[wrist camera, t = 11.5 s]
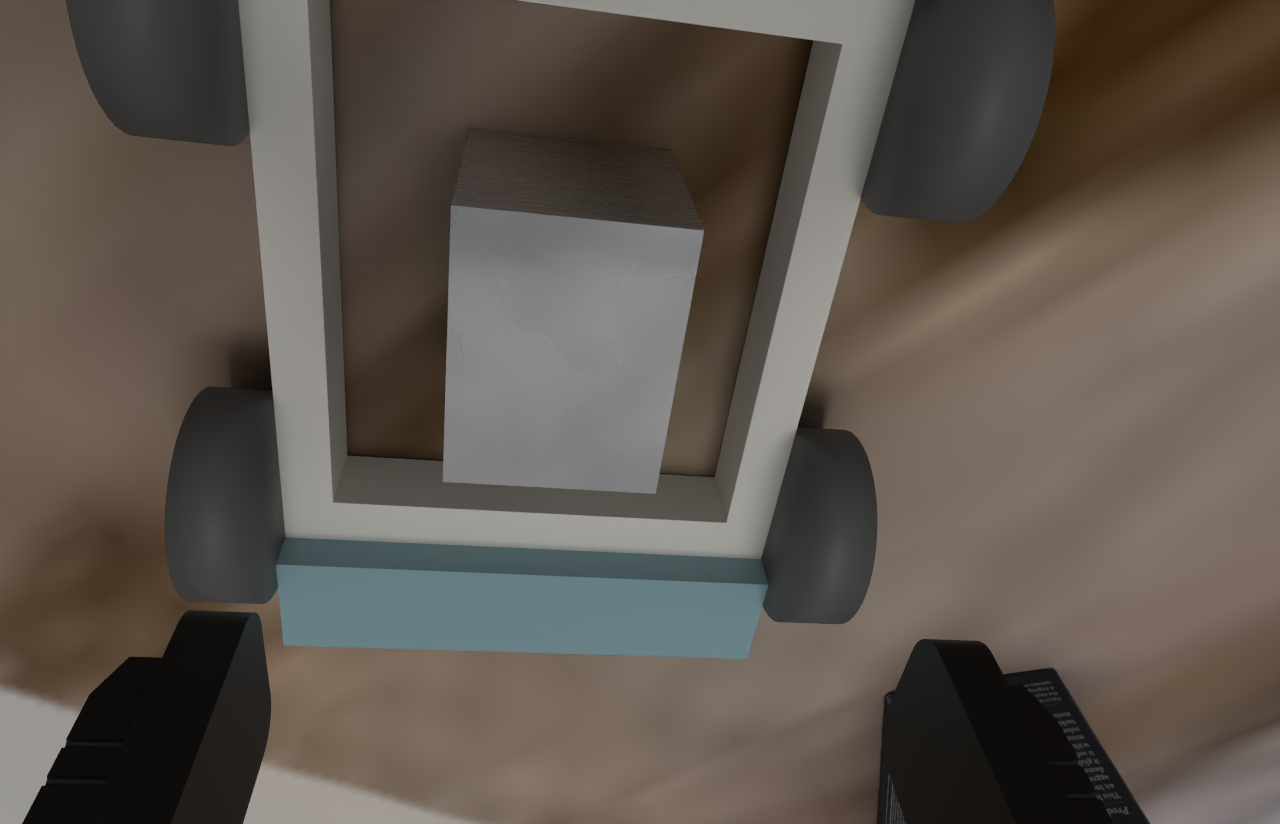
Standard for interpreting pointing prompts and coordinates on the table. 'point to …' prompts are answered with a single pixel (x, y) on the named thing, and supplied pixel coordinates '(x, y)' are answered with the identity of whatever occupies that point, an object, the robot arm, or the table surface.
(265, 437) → the chassis
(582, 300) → the block
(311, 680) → the table surface
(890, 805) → the small box
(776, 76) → the table surface
